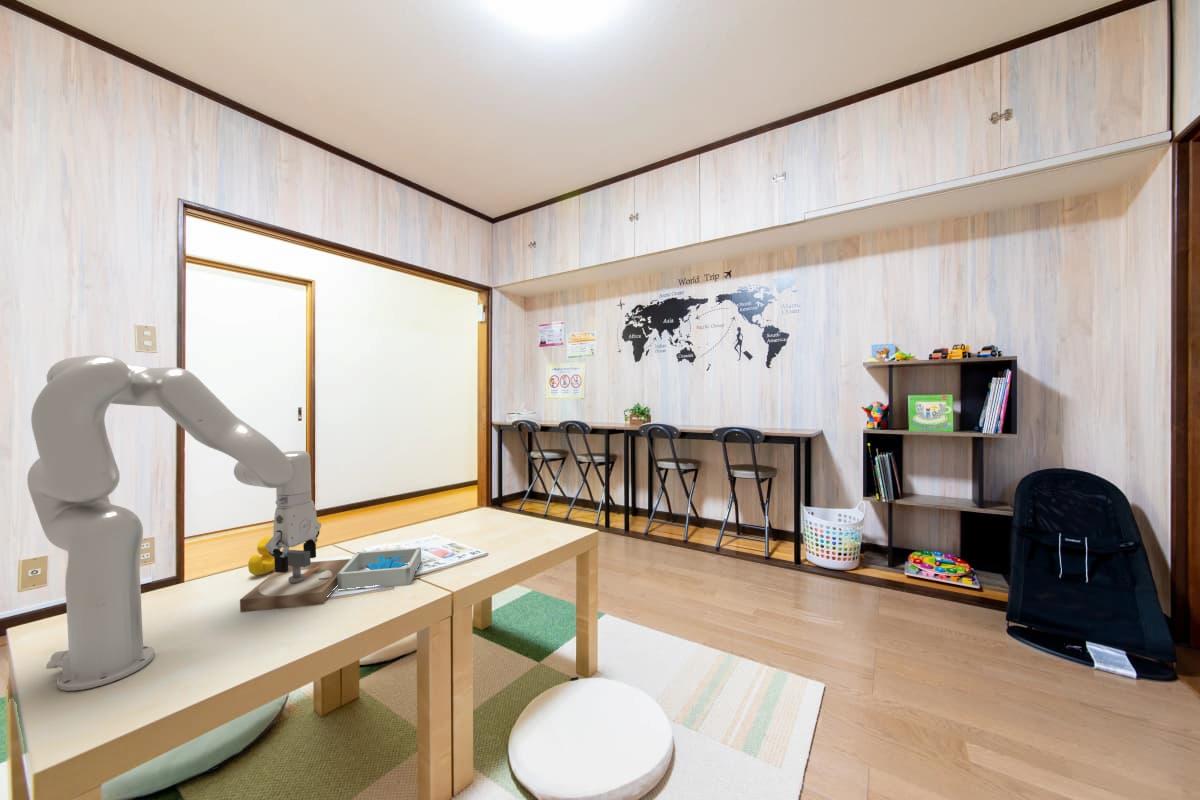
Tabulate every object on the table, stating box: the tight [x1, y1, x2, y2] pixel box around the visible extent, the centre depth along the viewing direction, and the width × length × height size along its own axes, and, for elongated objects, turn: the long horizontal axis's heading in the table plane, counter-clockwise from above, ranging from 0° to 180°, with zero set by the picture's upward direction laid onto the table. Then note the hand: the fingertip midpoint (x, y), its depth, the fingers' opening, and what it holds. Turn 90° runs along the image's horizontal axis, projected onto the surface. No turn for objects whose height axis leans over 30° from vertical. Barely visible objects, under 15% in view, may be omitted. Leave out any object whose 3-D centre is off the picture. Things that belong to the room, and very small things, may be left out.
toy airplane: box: [366, 555, 406, 570], centre depth 129 cm, size 12×10×4 cm
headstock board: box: [239, 558, 351, 613], centre depth 121 cm, size 18×22×3 cm
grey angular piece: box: [286, 549, 320, 583], centre depth 120 cm, size 9×7×8 cm
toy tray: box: [337, 546, 422, 590], centre depth 129 cm, size 18×16×4 cm
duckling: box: [247, 536, 275, 576], centre depth 132 cm, size 11×5×10 cm, turn 178°
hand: (296, 564), depth 118 cm, fingers open, 9 cm apart
